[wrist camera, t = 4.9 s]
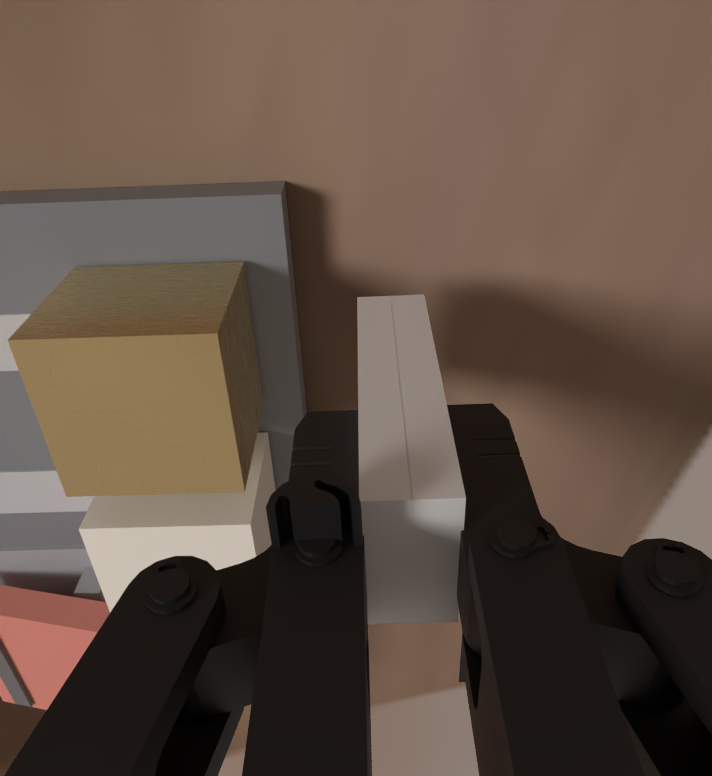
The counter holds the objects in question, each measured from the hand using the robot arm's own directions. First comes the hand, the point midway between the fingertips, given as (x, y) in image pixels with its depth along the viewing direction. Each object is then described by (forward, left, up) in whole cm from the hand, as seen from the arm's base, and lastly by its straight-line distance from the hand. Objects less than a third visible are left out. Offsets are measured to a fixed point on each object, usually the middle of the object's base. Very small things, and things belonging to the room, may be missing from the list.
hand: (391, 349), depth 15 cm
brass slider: (0, -5, -1) cm, 6 cm away
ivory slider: (+5, -5, -1) cm, 8 cm away
